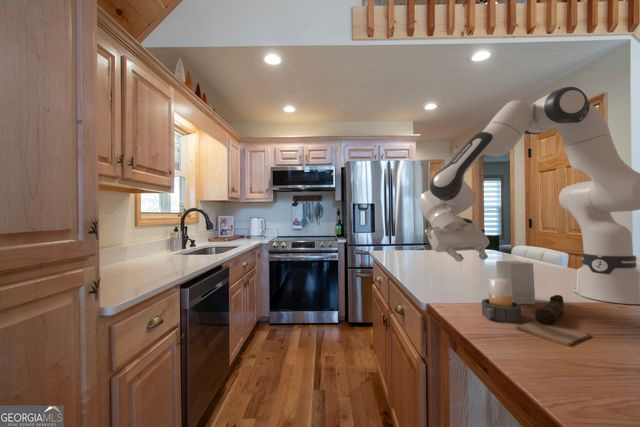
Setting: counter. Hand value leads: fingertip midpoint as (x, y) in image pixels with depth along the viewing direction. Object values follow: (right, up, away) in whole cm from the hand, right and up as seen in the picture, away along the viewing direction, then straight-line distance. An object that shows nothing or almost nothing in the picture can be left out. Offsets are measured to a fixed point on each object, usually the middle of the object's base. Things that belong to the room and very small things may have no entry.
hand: (473, 259), depth 83 cm
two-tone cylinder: (+3, -14, -9) cm, 17 cm away
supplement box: (+17, -14, +5) cm, 22 cm away
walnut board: (+7, -14, -20) cm, 25 cm away
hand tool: (+15, -14, -11) cm, 23 cm away
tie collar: (+3, -14, -9) cm, 17 cm away
